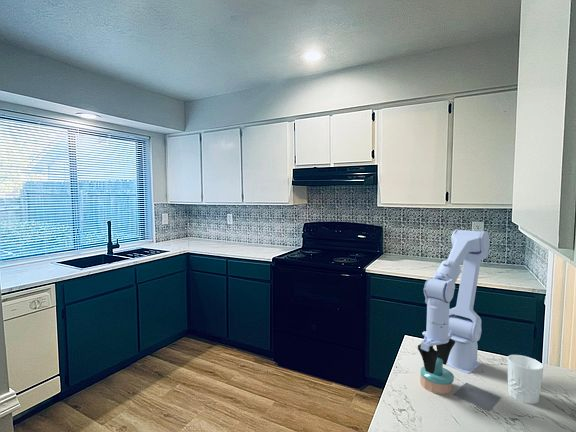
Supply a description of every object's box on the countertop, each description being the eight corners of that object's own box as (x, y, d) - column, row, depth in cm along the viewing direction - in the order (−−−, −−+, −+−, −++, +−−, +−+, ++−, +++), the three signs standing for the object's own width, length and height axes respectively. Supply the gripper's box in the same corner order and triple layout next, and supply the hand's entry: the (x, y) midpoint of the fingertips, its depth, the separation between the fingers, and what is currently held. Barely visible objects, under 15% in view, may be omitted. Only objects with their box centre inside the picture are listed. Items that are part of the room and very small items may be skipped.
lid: (430, 364, 98) (431, 349, 98) (459, 377, 91) (460, 361, 91) (414, 373, 93) (415, 357, 93) (443, 388, 86) (444, 370, 86)
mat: (466, 383, 94) (466, 382, 94) (501, 398, 87) (501, 397, 87) (452, 395, 89) (452, 394, 89) (489, 412, 82) (489, 411, 82)
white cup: (548, 408, 84) (550, 371, 83) (514, 404, 85) (515, 367, 85) (531, 390, 91) (533, 356, 91) (500, 387, 93) (502, 353, 92)
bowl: (428, 375, 98) (429, 365, 98) (455, 387, 92) (456, 376, 92) (415, 385, 93) (415, 374, 93) (442, 399, 87) (443, 386, 87)
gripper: (435, 311, 99) (434, 354, 100) (411, 323, 90) (409, 370, 91) (459, 318, 94) (458, 363, 95) (436, 331, 85) (434, 381, 85)
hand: (436, 367), depth 92 cm, fingers open, 7 cm apart
